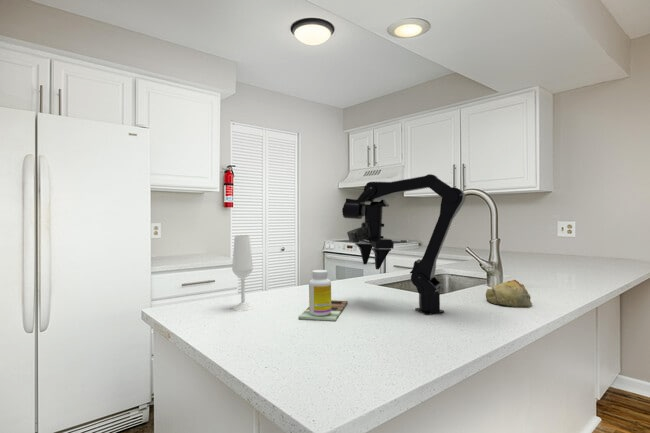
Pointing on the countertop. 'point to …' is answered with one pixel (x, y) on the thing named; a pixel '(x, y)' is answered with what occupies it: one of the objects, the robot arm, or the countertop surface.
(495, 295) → the pastry
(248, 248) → the champagne flute
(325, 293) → the supplement bottle
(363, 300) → the countertop surface
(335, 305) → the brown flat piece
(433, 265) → the robot arm
